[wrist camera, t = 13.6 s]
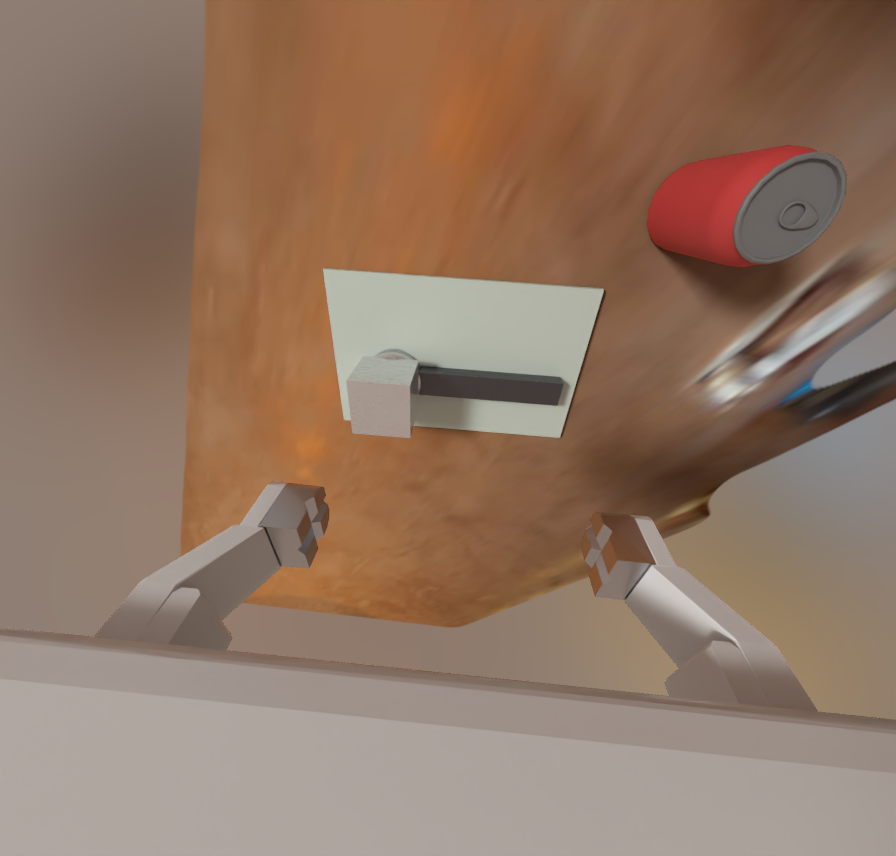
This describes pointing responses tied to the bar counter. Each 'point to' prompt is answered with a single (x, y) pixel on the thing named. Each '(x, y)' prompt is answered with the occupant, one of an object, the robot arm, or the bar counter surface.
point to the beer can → (748, 205)
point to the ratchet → (484, 383)
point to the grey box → (384, 396)
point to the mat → (465, 338)
